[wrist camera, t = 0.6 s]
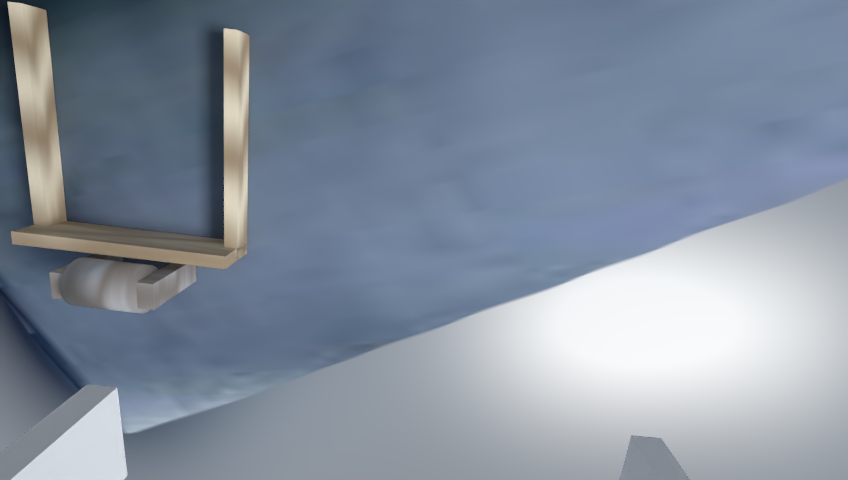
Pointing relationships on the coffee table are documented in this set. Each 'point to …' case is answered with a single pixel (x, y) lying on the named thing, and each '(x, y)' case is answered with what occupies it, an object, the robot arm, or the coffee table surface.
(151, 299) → the wooden frame
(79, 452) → the robot arm
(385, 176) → the coffee table surface
